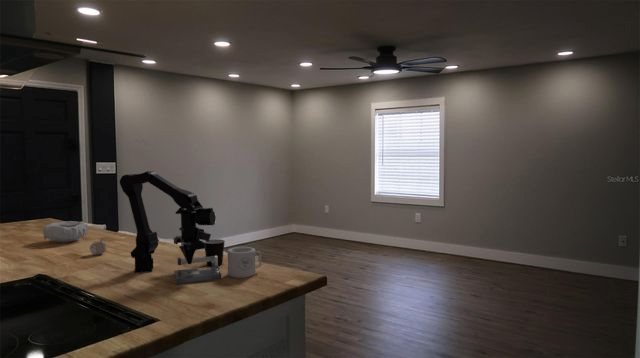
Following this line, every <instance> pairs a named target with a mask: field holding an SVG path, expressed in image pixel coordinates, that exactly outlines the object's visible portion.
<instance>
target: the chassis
mask: <svg viewBox="0 0 640 358" xmlns="http://www.w3.org/2000/svg"><path fill="white" fill-rule="evenodd" d="M173 273H174V274H173V275H174V280H175V283H176V285H183V284H194V283H201V282H202V283H203V282H210V281H211V282H212V281H219V280H220V281H221V280H222V273H221V271H220V270H218V269H217V267H216V266H215V267H212V266H205V267H197V268H186V269H177V270H174V271H173Z"/></svg>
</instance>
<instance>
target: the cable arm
mask: <svg viewBox="0 0 640 358" xmlns="http://www.w3.org/2000/svg"><path fill="white" fill-rule="evenodd" d="M209 261H212V266H211V267H215V266H216V267H217V268H218V267H219V266H218V256H217V255H214V256H206V255H205V256H196V257H194V256H193V259H192V263H191V264H196V263H197V264H198V263H207V262H209ZM185 264H187V265H188V263H187V261H186V259H185V257H183V258H181V257H177V266H182V265H185Z"/></svg>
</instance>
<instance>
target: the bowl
mask: <svg viewBox="0 0 640 358" xmlns="http://www.w3.org/2000/svg"><path fill="white" fill-rule="evenodd" d="M42 232H43V239H44V241H45V240H47V239H48V240H50V241H53V242H56V243H69V242H70V243H71V242H73V241H77V240H79V239H81V238H83V237H86V236H87V235H88V224H86V223H85V222H84V221H72V220H69V221H68V220H66V221H60V222H55V221H54V222H51V223H49V224H47V225H44V226H43V231H42Z"/></svg>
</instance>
